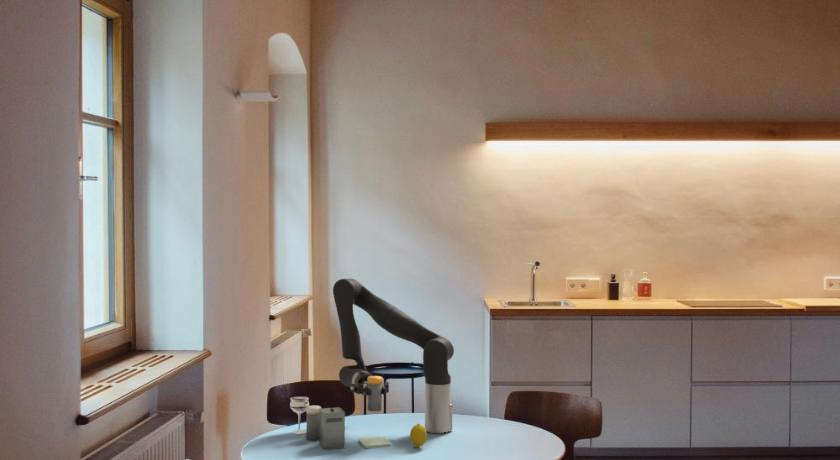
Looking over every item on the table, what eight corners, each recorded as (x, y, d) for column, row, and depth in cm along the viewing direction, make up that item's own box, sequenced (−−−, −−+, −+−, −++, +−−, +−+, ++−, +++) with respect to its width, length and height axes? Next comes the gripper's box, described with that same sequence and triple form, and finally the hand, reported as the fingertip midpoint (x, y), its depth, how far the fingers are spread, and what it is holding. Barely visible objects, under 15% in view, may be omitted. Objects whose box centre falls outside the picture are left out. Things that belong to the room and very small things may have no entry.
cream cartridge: (319, 436, 272) (319, 405, 272) (322, 440, 267) (322, 408, 267) (304, 437, 270) (305, 406, 271) (307, 441, 266) (307, 409, 266)
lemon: (424, 450, 256) (425, 426, 256) (408, 449, 257) (408, 425, 257) (428, 446, 261) (428, 422, 261) (411, 445, 262) (412, 421, 262)
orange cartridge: (379, 407, 267) (380, 375, 267) (383, 411, 262) (384, 378, 262) (365, 408, 265) (365, 376, 265) (369, 412, 261) (369, 378, 261)
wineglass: (312, 432, 279) (313, 398, 279) (297, 435, 274) (298, 401, 274) (300, 428, 283) (300, 395, 283) (285, 432, 278) (285, 398, 278)
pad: (383, 439, 269) (383, 437, 269) (391, 446, 261) (391, 443, 261) (358, 441, 266) (358, 439, 266) (365, 448, 258) (365, 445, 258)
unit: (339, 442, 265) (339, 405, 265) (344, 448, 257) (345, 410, 257) (319, 444, 262) (319, 406, 262) (323, 450, 255) (324, 411, 255)
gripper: (344, 373, 275) (356, 381, 259) (383, 371, 280) (397, 379, 264) (344, 394, 275) (355, 404, 259) (383, 392, 280) (397, 402, 263)
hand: (376, 392), depth 261 cm, fingers closed on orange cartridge, 4 cm apart
